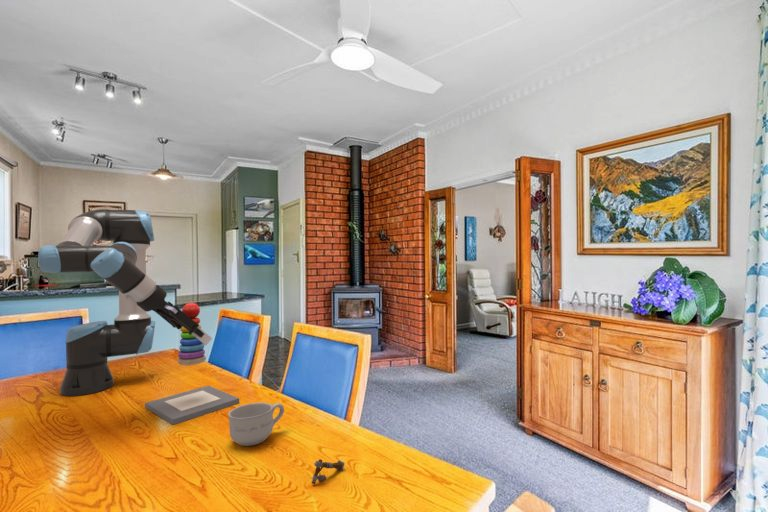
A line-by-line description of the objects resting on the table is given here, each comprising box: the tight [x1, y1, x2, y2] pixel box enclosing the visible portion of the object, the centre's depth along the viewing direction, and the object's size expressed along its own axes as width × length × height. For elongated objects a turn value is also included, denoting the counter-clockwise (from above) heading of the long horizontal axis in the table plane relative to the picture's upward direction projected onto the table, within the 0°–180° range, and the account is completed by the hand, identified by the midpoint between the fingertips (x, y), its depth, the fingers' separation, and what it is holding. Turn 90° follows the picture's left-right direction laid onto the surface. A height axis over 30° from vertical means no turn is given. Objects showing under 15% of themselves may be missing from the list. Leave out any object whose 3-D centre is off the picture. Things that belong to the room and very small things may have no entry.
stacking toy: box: [177, 302, 207, 366], centre depth 121 cm, size 8×8×19 cm
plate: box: [144, 385, 240, 426], centre depth 121 cm, size 20×20×2 cm
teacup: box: [227, 402, 285, 447], centre depth 98 cm, size 14×11×8 cm
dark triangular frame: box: [311, 459, 345, 485], centre depth 81 cm, size 2×8×4 cm, turn 140°
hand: (203, 340), depth 124 cm, fingers closed on stacking toy, 6 cm apart
